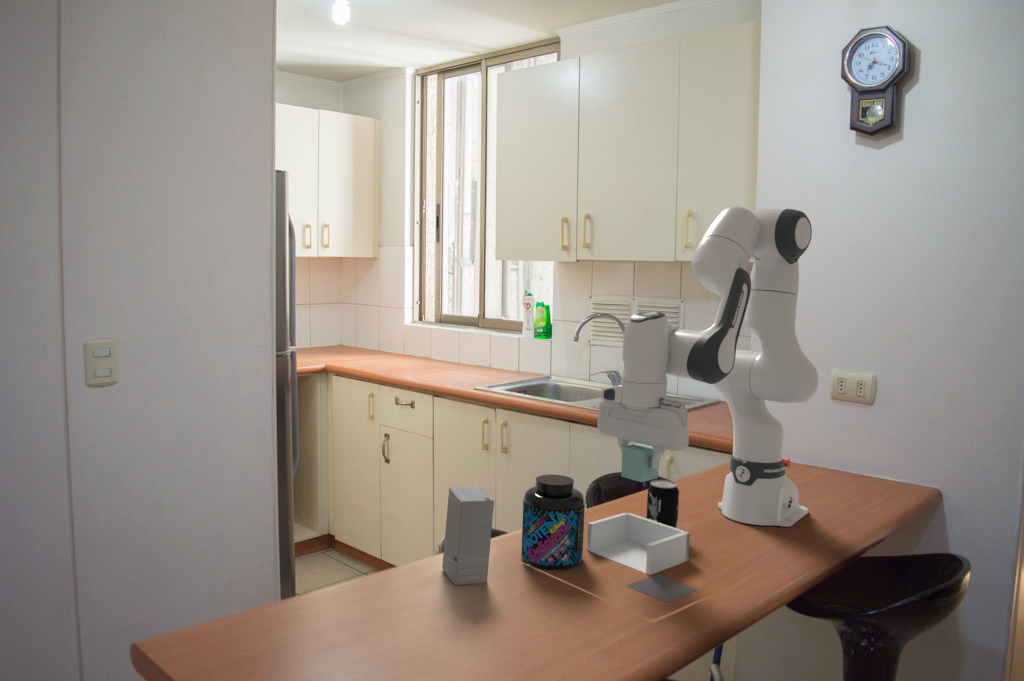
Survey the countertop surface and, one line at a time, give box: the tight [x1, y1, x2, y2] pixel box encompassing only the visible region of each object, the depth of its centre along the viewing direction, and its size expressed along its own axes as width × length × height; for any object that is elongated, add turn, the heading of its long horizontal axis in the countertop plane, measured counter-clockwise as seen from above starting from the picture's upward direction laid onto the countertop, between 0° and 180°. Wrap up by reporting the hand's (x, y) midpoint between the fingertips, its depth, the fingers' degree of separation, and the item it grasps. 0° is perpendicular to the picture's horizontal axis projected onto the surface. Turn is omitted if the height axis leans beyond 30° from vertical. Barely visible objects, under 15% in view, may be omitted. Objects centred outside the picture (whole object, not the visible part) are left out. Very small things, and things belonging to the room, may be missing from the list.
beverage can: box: [646, 479, 680, 529], centre depth 167 cm, size 7×7×12 cm
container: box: [521, 474, 586, 571], centre depth 151 cm, size 12×12×16 cm
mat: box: [626, 573, 698, 604], centre depth 140 cm, size 9×9×1 cm
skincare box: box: [441, 486, 495, 586], centre depth 142 cm, size 8×7×16 cm
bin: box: [586, 511, 691, 576], centre depth 155 cm, size 12×16×6 cm
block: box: [621, 443, 659, 483], centre depth 153 cm, size 5×5×6 cm
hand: (640, 464), depth 153 cm, fingers closed on block, 5 cm apart
